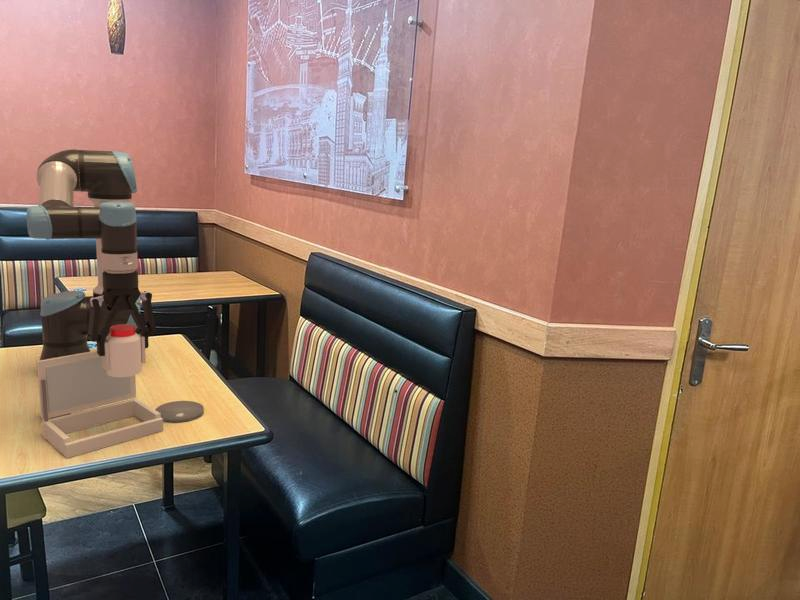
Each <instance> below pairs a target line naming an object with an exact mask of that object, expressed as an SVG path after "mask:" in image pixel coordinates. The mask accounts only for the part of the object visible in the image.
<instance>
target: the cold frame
mask: <svg viewBox="0 0 800 600" xmlns="http://www.w3.org/2000/svg"><path fill="white" fill-rule="evenodd" d="M90 351H91V352H85V353H80V354H74V355H68V356H63V357H57V358H51V359H46V360H40V361H39V360H37V361H36V366H37V367H36V368H37V381H38V397H39V406H40V407H39V411H40V419H41V420H42V434H43V435H42V436H43V438H44V439H45V438H46V439H47V440H48V441H47V440H46V439H45V440H46V441H47V442H49V443H50V444H51V445H52V446H53V447H54V448H55V447H56V448H55V449H56V450H57V451H59V453H60V454H62V455H63V456H64V457H65V458H66V459H69V458H73V457H76V456H79V455H83V454H86V453H90V452H94V451H97V450H101V449H103V448H107V447H111V446H115V445H118V444H122V443H125V442H129V441H132V440H137V439H138V438H142V437H146V436H148V435H149V436H150V435H153V434H156V433H161V432H163V431H164V422H163V418H161V413H159V412H157V411H156V410H155V409H154V408H152V406H149V405H148V404H146V403H145V402H143V401H142V400H139V399H138V398H137V385H136V384H137V383H136V375H134V376H130V377H112V376H109V375H107V374H106V370H105V369H104V368H102V358H101V356H99V355H98V354H97V350H90ZM69 413H71V414H69ZM65 414H69V415H65ZM61 415H64V416H61ZM57 416H60V417H57ZM134 416H135V417H136V418H137V419H139V420H140V421H142V422H139V423H135V424H131V425H128V426H125V427H120V428H117V429H113V430H110V431H109V430H108V431H105V432H102V433H98V434H94V435H90V436H87V437H84V438H80V439H77V440H76V439H75V440H73V441H71V438H70V437H69V436H68V435H67V434H68V433H72V432H76V431H79V430H83V429H84V430H85V429H88V428H92V427H95V426H100V425H103V424H107V423H110V422H115V421H118V420H122V419H126V418H130V417H134ZM53 417H56V418H53ZM51 418H52V419H51Z"/></svg>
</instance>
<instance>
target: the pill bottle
mask: <svg viewBox="0 0 800 600" xmlns="http://www.w3.org/2000/svg"><path fill="white" fill-rule="evenodd" d="M105 341H106V342H108V343H109V360H110V370H106V374H107V375H109V376H112V377H130V376H134V375H135V376H136V375H139V374H140V373H142V370H143V368H142V367H143V365H142V364H143V363H142V361H141V337H140V336H139V335H138V333H137V332H136V330H135V326H134V325H129V324H120V325H114V326H111V327H110V334H108V335H107V337H106V340H105Z"/></svg>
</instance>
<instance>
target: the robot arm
mask: <svg viewBox="0 0 800 600" xmlns="http://www.w3.org/2000/svg"><path fill="white" fill-rule="evenodd" d="M135 172H136V171H135V168H134V163H133V160H132V157H131V155H130V154H128V153H126V152H122V151H121V152H120V151H114V150H92V149H90V150H87V149H86V150H85V149H76V148H75V149H74V148H73V149H65V150H61V151H59V152H56V153H54V154H51V155H50V156H48V157H47V158H45V159H44V160H43V161H42V162H41V163H40V164H39V166H38V168H37V172H36V182H37V184H38V186H39V197H38V205H30V206H28V207H27V208H26V225H27V233H28V236H29V237H30V238H32V239H34V240H35V239H38V240H39V239H42V240H47V241H48V240H78V239H79V240H90V239H91V240H94V239H95V244H96V246H95V249H96V264H97V265H96V268H97V269H96V270H97V285H96V286H95V287H94V288H93V289H92V295H89V296H88V295H87V296H86V294H85V292H84V291H81V290H67V291H61V292H58V293H53V294H49V295H48V296H45V297H44V298H42V300H41V302H40V313H39V315H40V317H41V329H42V330H41V332H42V350H41V354H40V356H39V360H38V361H40V360H46V359H51V358H57V357H63V356H68V355H74V354H80V353H85V352H91V351H92V350H91V349H90V346H89V344H88V340H90V341H91V342H93V343H96V351H97V354H98V355H99V356H101V358H102V368H104V369H105V370H110V360H109V343H108V342H106V341H105V340H106V337H107V336H108V335H109V334H110V327H111V326H114V325H120V324H129V325H134V326H135V331H136V330H137V329H138V332H139V334H138V333H137V334H138V335H139V336H140V337H141V361H142V364H146V349H148V348H149V337H150V336H151V334H152V333H155V332H157V326H156V321H155V317H154V310H153V306H152V298H153V293H151V292H149V291H147V290H144V291H140V290H139V272H138V270H137V269H138V267H139V265H138V248H137V247H138V245H137V244H138V243H137V242H138V240H137V237H138V236H137V235H138V233H137V220H138V216H137V214H136V206H135V205H134V203H131V201H132V200H133V198H132V197H133V195H132V194H137V192H138V187H137V186H138V185H137V178H136V174H135ZM74 192H82V193H83V192H86V193H87V198H88V200H89V201H91V203H92V204H93V205H94V206H78V205H77V206H75V205H74V203H75V200H74ZM141 304H142V306H141ZM141 307H142V310H143V315H144V320H145V322H144V320H143V318H142V316H141Z"/></svg>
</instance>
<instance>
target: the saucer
mask: <svg viewBox="0 0 800 600" xmlns="http://www.w3.org/2000/svg"><path fill="white" fill-rule="evenodd" d="M154 410H156V411H157V412H159V413H161V418H163V423H164V422H165V423H171V424H177V423H179V424H180V423H187V422H191V421H194V420H197V419H199V418H201V417H202V416H203V415H204V412H205V407H204V406H203V404H202V403H199V402H196V401H192V400H177V401H176V400H175V401H170V402H166V403H162V404H160V405H159V406H157V407H156V408H155V409H154Z"/></svg>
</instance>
